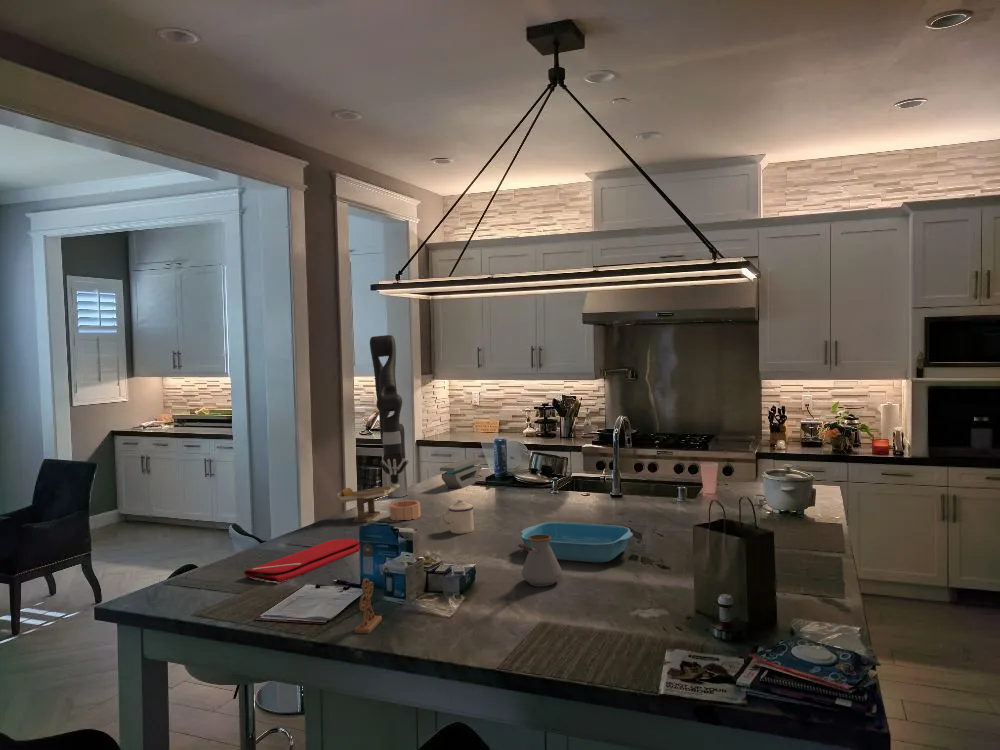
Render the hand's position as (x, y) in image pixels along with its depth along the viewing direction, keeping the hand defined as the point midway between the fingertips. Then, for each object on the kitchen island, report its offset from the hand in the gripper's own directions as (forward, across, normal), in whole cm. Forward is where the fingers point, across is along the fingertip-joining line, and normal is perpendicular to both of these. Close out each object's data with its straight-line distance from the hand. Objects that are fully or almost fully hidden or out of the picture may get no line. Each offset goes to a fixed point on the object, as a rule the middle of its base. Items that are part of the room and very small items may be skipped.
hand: (394, 483), depth 311 cm
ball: (+1, +16, +11) cm, 20 cm away
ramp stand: (+12, +9, +11) cm, 18 cm away
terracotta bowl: (+12, -8, +11) cm, 18 cm away
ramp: (+3, +9, +6) cm, 11 cm away
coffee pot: (+13, -73, +92) cm, 118 cm away
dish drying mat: (+13, +6, +69) cm, 71 cm away
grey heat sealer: (+12, -15, -51) cm, 55 cm away
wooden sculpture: (+13, -35, +121) cm, 126 cm away
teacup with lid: (+12, -35, +32) cm, 49 cm away
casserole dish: (+13, -81, +59) cm, 101 cm away
